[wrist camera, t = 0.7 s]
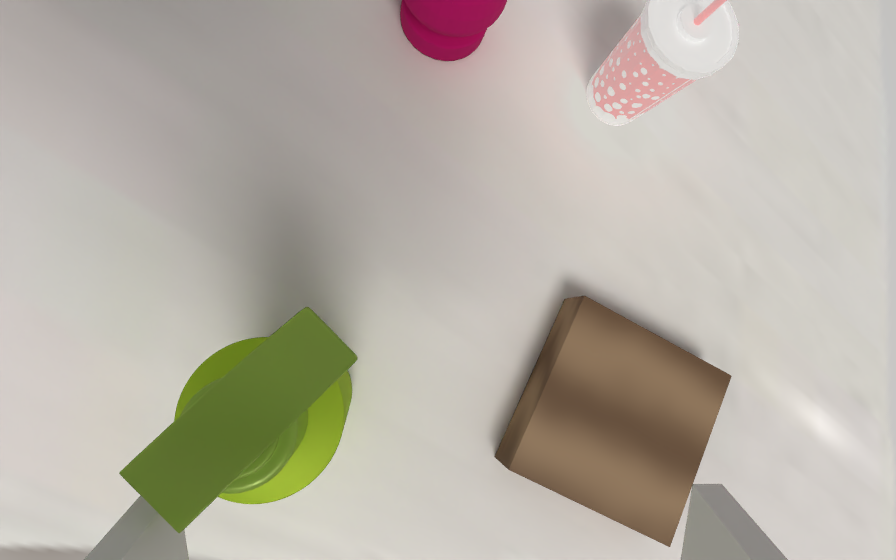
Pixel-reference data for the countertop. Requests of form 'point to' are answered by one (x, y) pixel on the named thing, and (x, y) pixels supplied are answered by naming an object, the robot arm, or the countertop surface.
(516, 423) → the plinth
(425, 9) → the pepper mill
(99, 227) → the countertop surface
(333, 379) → the soap dispenser
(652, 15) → the beverage cup
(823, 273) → the countertop surface
